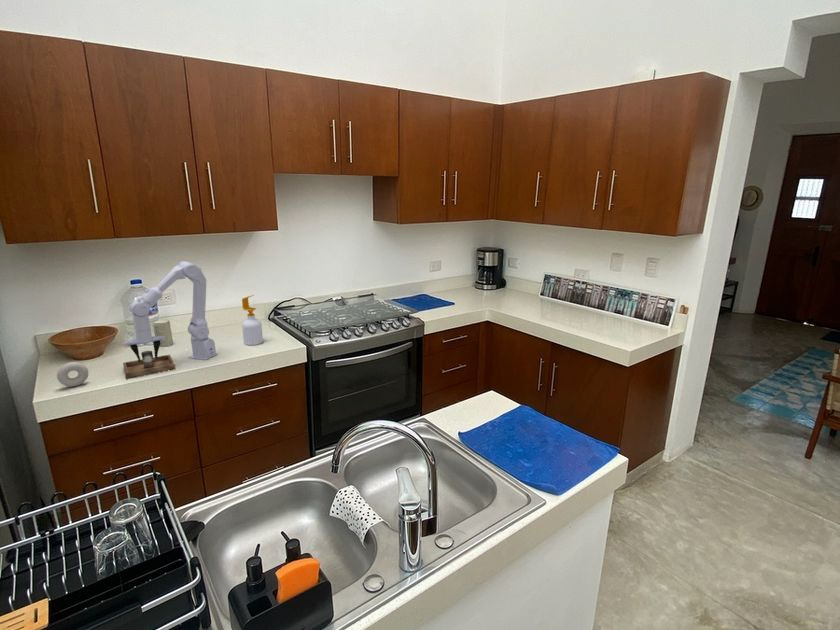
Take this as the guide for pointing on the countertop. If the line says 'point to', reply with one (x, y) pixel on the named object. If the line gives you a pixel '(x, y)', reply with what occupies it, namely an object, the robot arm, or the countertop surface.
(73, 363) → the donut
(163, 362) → the walnut tray
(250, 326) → the soap bottle
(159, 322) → the skincare box
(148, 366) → the steel shaker
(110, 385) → the countertop surface
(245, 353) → the countertop surface
